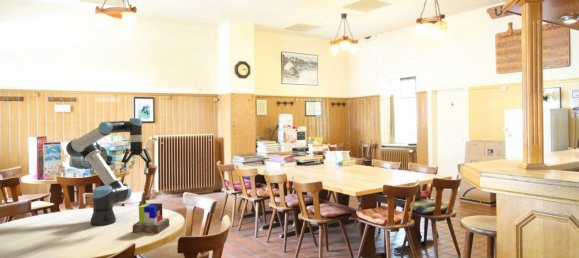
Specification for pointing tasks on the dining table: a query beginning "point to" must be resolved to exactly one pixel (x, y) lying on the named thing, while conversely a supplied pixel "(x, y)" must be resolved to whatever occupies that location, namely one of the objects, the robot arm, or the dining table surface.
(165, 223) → the walnut base
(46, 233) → the dining table surface
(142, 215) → the puzzle toy
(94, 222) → the robot arm
